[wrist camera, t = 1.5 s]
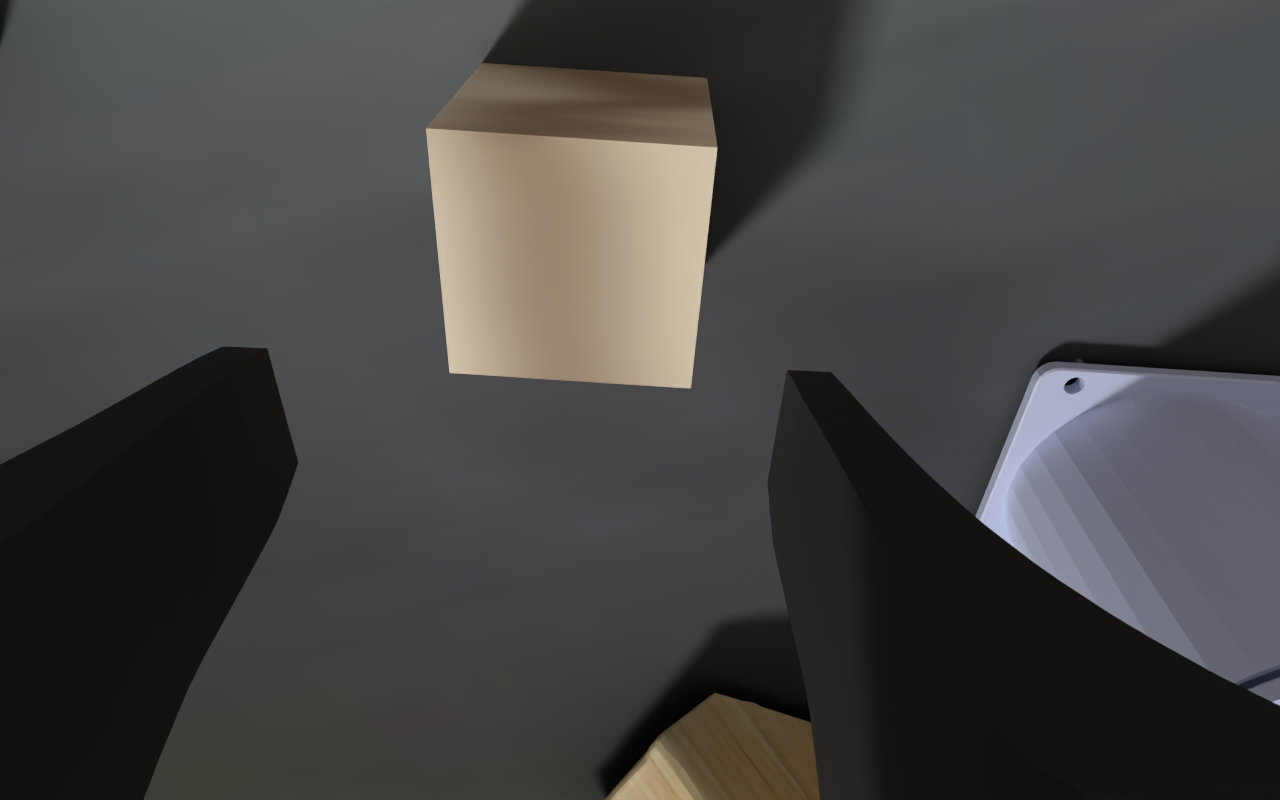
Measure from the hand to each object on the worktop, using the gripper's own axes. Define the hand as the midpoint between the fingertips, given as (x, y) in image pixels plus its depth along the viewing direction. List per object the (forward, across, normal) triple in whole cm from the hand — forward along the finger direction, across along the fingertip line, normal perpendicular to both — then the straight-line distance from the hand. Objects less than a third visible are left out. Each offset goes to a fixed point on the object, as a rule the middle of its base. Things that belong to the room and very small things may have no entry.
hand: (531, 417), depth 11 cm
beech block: (+10, 0, 0) cm, 10 cm away
